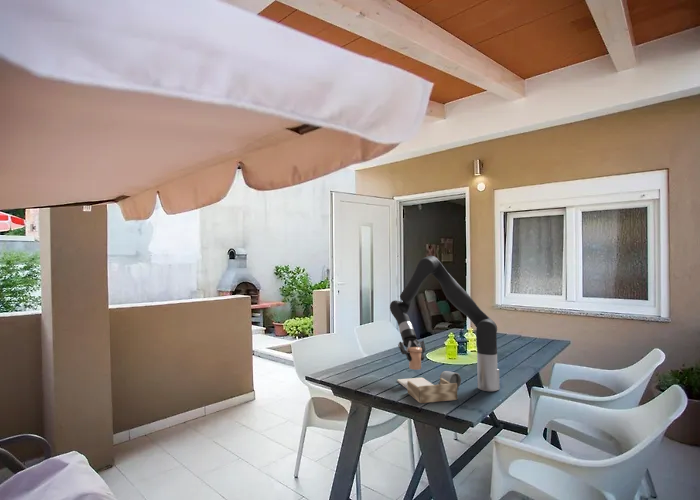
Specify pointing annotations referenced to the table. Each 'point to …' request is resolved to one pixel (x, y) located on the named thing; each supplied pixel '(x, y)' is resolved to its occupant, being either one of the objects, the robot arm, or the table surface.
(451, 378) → the ceramic mug
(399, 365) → the table surface
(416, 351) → the tan round-topped cylinder
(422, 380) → the stone tile
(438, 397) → the wooden frame
